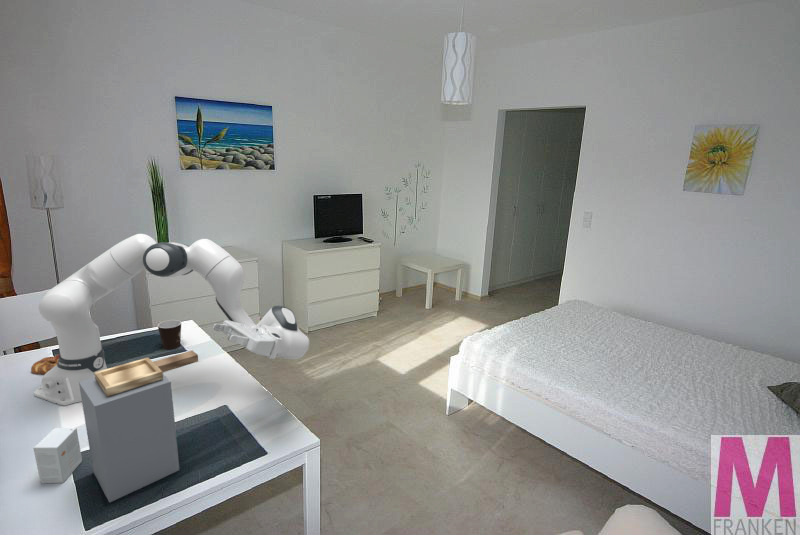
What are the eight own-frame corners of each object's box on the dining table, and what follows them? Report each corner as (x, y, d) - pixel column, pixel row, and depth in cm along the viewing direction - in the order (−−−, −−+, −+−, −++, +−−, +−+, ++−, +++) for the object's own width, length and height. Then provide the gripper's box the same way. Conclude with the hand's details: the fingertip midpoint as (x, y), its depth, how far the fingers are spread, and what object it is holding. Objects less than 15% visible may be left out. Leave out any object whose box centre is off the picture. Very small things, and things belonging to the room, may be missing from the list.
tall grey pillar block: (159, 444, 126) (150, 361, 119) (179, 470, 117) (170, 381, 110) (93, 472, 115) (78, 381, 108) (109, 502, 105) (94, 406, 98)
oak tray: (188, 352, 124) (187, 346, 123) (203, 365, 117) (203, 359, 117) (95, 379, 108) (94, 372, 108) (107, 396, 102) (106, 388, 101)
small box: (60, 461, 118) (54, 427, 115) (83, 461, 118) (77, 427, 115) (39, 484, 110) (32, 447, 107) (63, 483, 110) (56, 447, 108)
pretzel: (30, 379, 155) (28, 370, 154) (32, 366, 164) (30, 357, 163) (73, 370, 162) (71, 361, 161) (72, 358, 171) (71, 349, 170)
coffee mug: (173, 352, 179) (171, 329, 176) (155, 349, 181) (152, 326, 178) (192, 340, 190) (190, 318, 187) (174, 337, 192) (172, 316, 189)
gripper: (250, 320, 142) (210, 311, 132) (285, 340, 128) (243, 332, 118) (243, 338, 141) (202, 331, 131) (277, 361, 128) (234, 355, 117)
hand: (221, 332), depth 124 cm, fingers open, 8 cm apart
